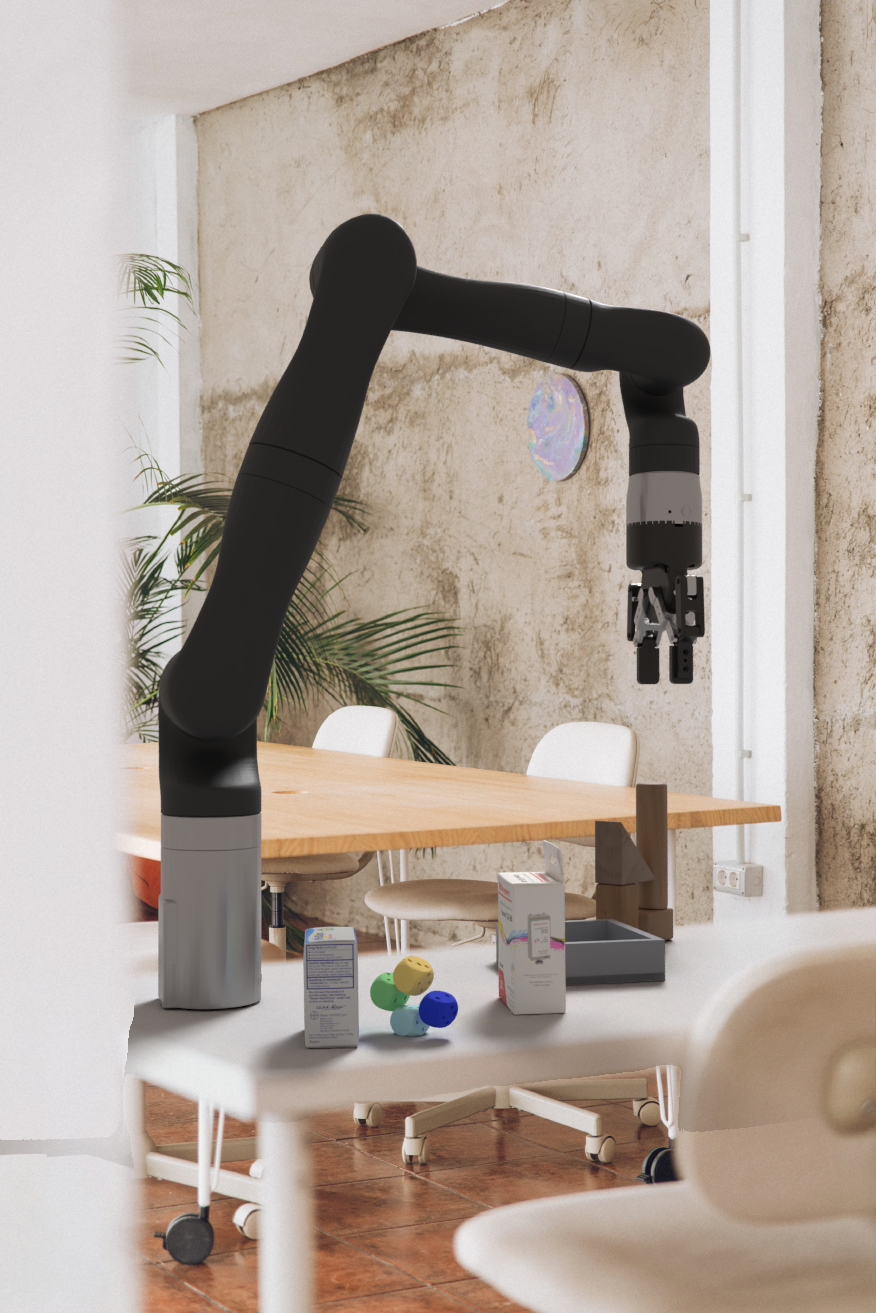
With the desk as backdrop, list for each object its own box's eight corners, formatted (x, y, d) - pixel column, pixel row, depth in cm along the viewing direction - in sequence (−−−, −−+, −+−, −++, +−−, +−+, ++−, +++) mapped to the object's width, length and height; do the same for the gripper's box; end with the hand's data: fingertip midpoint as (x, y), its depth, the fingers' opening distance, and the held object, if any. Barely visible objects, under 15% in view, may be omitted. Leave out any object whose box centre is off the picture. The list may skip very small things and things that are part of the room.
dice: (461, 1037, 132) (461, 959, 132) (442, 1042, 130) (442, 963, 130) (385, 1025, 137) (385, 950, 137) (366, 1030, 135) (366, 954, 135)
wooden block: (594, 947, 178) (593, 785, 178) (647, 936, 186) (647, 781, 186) (622, 951, 175) (621, 787, 176) (674, 939, 183) (674, 782, 184)
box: (539, 986, 154) (538, 945, 154) (496, 961, 169) (496, 923, 169) (665, 980, 157) (664, 939, 158) (612, 955, 172) (612, 918, 172)
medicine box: (359, 1048, 128) (359, 940, 128) (303, 1049, 128) (303, 940, 128) (356, 1027, 136) (356, 925, 136) (303, 1028, 135) (303, 926, 136)
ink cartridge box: (495, 997, 149) (494, 839, 149) (547, 995, 150) (547, 838, 150) (512, 1015, 141) (511, 848, 141) (567, 1014, 141) (567, 847, 142)
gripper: (603, 527, 165) (603, 684, 165) (656, 512, 151) (656, 683, 151) (671, 529, 167) (671, 684, 167) (729, 514, 153) (729, 683, 153)
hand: (664, 684), depth 159 cm, fingers open, 8 cm apart
